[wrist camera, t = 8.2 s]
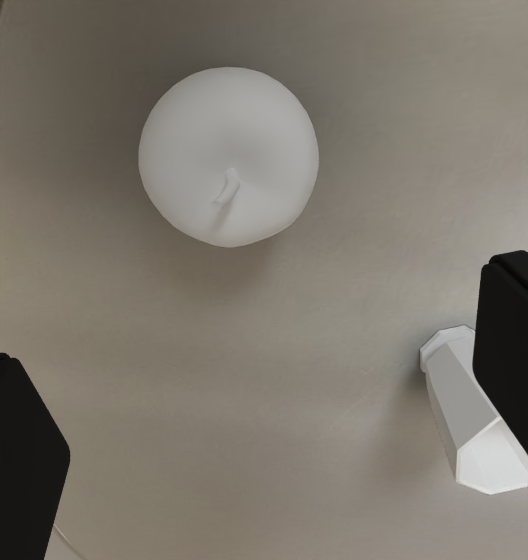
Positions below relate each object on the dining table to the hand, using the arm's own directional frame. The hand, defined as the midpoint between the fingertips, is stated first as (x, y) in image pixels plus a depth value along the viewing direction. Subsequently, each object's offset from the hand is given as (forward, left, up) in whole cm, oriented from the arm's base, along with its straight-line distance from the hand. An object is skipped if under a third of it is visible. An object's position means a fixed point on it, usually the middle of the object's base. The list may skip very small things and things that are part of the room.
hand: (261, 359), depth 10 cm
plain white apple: (0, 0, -16) cm, 16 cm away
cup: (+16, +13, -16) cm, 26 cm away
